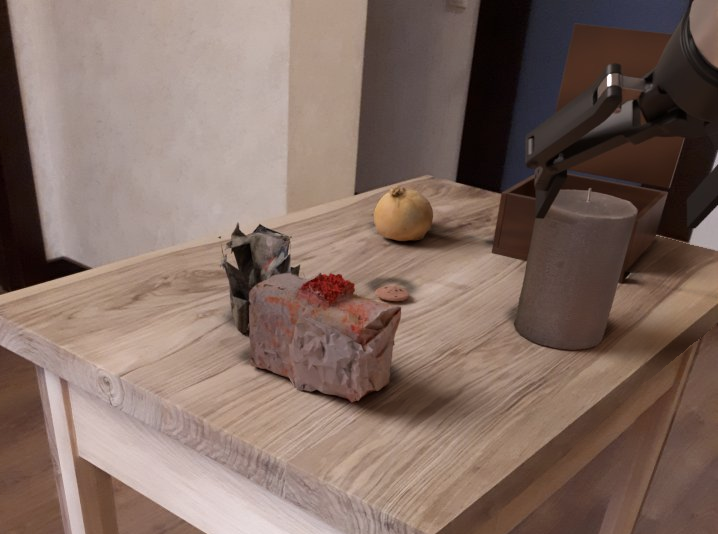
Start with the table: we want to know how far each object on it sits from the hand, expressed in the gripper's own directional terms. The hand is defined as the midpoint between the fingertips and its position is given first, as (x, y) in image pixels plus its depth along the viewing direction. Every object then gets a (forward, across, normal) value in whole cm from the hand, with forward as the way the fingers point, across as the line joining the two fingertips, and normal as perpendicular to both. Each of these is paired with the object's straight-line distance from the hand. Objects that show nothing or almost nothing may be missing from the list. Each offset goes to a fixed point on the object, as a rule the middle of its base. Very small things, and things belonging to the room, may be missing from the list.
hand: (615, 209), depth 71 cm
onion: (+37, -16, +15) cm, 43 cm away
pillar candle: (+17, 0, -5) cm, 18 cm away
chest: (+36, +8, +15) cm, 40 cm away
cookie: (+22, -18, 0) cm, 28 cm away
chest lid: (+30, +12, +32) cm, 45 cm away
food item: (+7, -25, -15) cm, 30 cm away
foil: (+18, -32, -4) cm, 36 cm away
